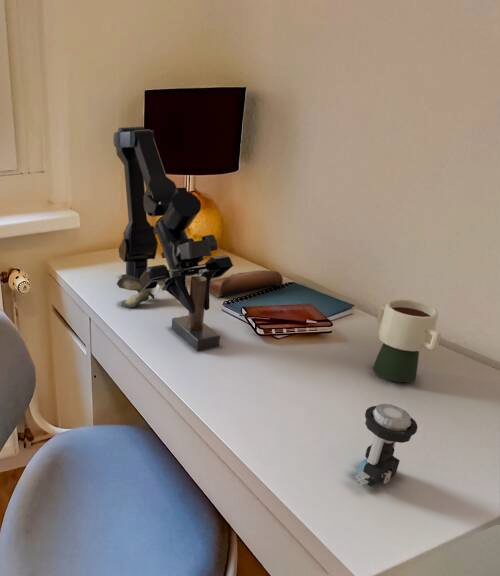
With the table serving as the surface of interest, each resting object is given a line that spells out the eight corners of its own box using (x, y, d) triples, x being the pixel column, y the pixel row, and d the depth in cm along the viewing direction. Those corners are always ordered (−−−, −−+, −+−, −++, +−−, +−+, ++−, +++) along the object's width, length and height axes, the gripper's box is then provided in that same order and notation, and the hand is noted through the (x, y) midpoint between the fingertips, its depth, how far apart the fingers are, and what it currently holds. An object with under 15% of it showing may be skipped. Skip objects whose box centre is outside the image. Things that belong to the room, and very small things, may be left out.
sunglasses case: (260, 274, 122) (271, 258, 117) (274, 295, 118) (286, 279, 113) (201, 284, 117) (211, 268, 112) (214, 307, 113) (224, 290, 108)
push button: (375, 502, 55) (395, 437, 52) (335, 473, 60) (350, 410, 56) (408, 482, 58) (429, 418, 54) (367, 455, 63) (384, 394, 59)
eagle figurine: (142, 286, 116) (111, 287, 112) (155, 268, 111) (123, 268, 107) (153, 311, 112) (122, 313, 108) (167, 294, 107) (135, 295, 103)
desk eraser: (171, 328, 97) (174, 271, 92) (191, 324, 99) (195, 268, 94) (197, 351, 89) (201, 289, 84) (219, 346, 90) (225, 285, 85)
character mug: (439, 390, 75) (462, 319, 70) (404, 397, 74) (425, 326, 69) (383, 356, 85) (400, 292, 80) (351, 362, 83) (366, 297, 78)
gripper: (147, 227, 85) (174, 304, 80) (232, 216, 91) (262, 287, 85) (129, 254, 95) (152, 324, 90) (206, 243, 101) (232, 308, 95)
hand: (200, 311), depth 90 cm, fingers closed on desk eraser, 3 cm apart
